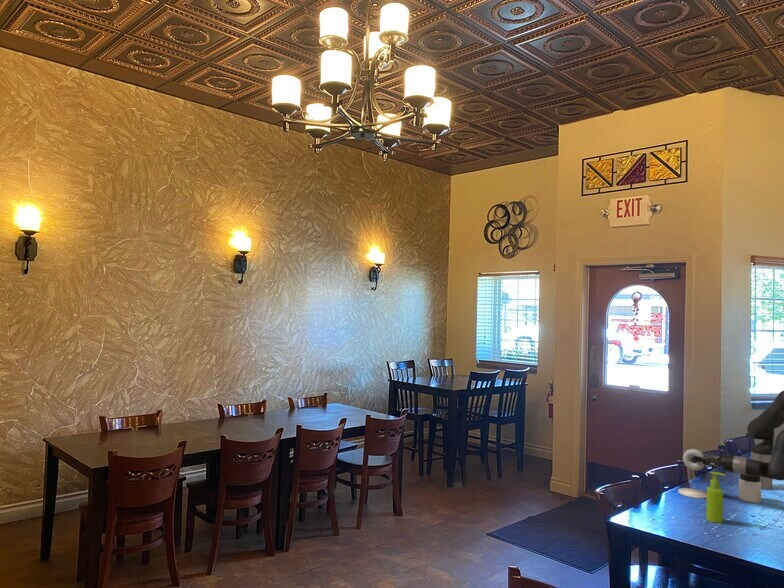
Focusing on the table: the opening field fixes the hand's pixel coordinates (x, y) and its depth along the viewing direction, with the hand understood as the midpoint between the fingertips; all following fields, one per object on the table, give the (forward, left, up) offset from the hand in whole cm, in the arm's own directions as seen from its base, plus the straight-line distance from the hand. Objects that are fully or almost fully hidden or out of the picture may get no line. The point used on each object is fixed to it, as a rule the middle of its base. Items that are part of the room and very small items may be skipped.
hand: (694, 457), depth 273 cm
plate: (0, 0, -18) cm, 18 cm away
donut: (0, 0, -6) cm, 6 cm away
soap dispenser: (+33, +17, -18) cm, 41 cm away
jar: (-12, +21, -18) cm, 30 cm away
